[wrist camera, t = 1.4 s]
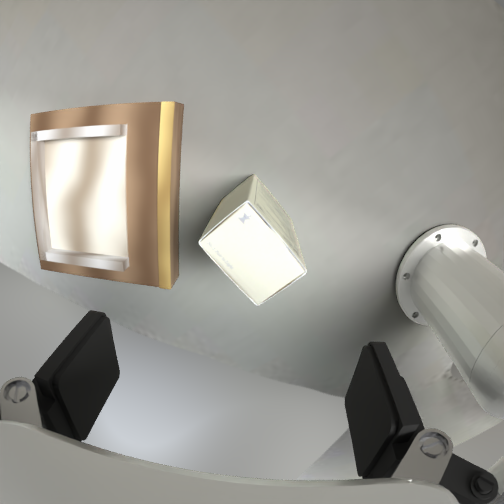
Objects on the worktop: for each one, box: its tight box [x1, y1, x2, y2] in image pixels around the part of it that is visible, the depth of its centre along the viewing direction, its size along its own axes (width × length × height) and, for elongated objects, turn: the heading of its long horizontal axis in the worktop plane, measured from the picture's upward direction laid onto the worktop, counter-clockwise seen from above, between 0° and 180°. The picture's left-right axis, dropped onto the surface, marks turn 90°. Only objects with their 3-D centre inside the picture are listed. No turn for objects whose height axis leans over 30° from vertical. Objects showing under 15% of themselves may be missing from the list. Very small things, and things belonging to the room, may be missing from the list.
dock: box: [30, 102, 184, 289], centre depth 29 cm, size 17×18×4 cm
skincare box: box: [198, 174, 307, 306], centre depth 26 cm, size 6×4×12 cm
